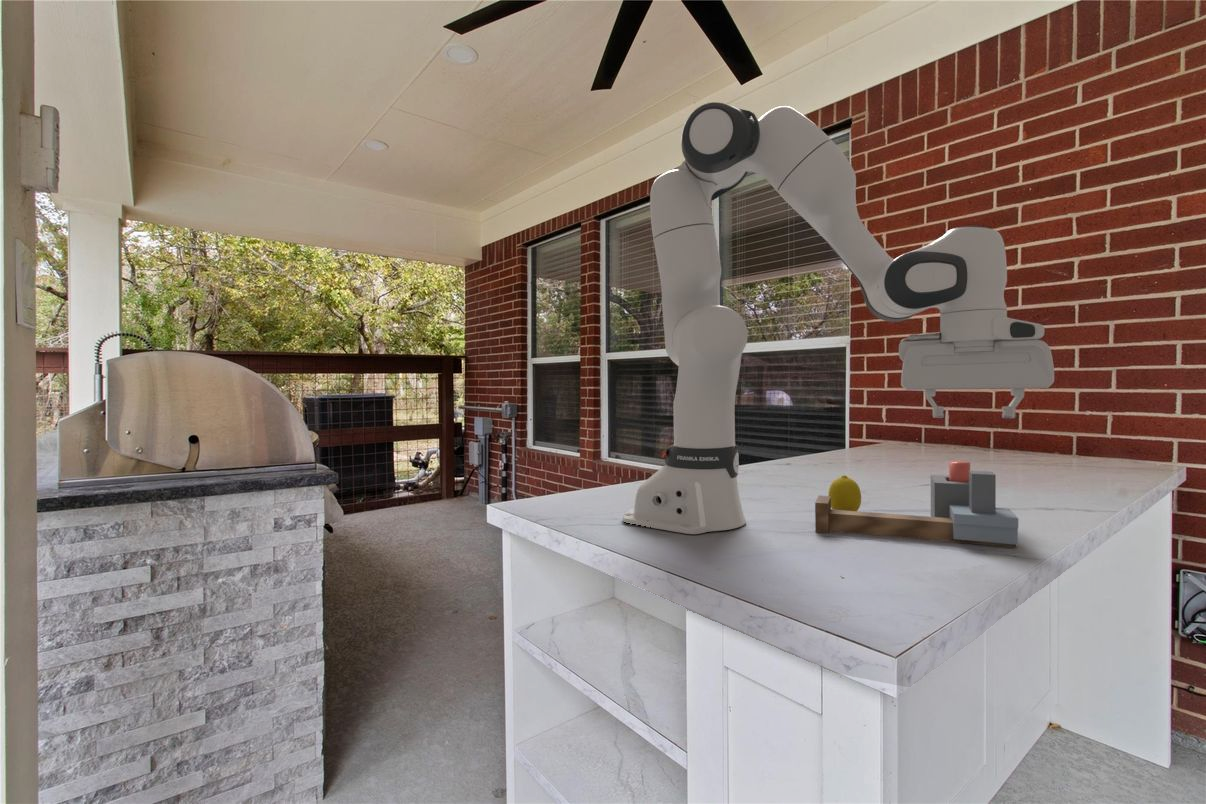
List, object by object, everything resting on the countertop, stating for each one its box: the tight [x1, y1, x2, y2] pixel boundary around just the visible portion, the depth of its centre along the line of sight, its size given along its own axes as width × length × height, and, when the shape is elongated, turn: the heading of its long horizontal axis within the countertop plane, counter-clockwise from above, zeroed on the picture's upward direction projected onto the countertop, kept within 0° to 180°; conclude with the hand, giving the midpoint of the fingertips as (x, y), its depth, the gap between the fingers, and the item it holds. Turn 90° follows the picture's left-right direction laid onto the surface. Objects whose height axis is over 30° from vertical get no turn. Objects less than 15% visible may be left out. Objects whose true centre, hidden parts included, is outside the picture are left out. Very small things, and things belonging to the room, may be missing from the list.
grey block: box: [930, 474, 969, 518], centre depth 95 cm, size 8×8×8 cm
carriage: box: [949, 470, 1019, 546], centre depth 86 cm, size 8×6×10 cm
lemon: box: [828, 475, 862, 511], centre depth 102 cm, size 6×6×8 cm
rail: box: [814, 495, 1017, 548], centre depth 90 cm, size 28×6×5 cm, turn 63°
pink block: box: [948, 460, 971, 482], centre depth 95 cm, size 3×3×6 cm
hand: (972, 417), depth 89 cm, fingers open, 8 cm apart
